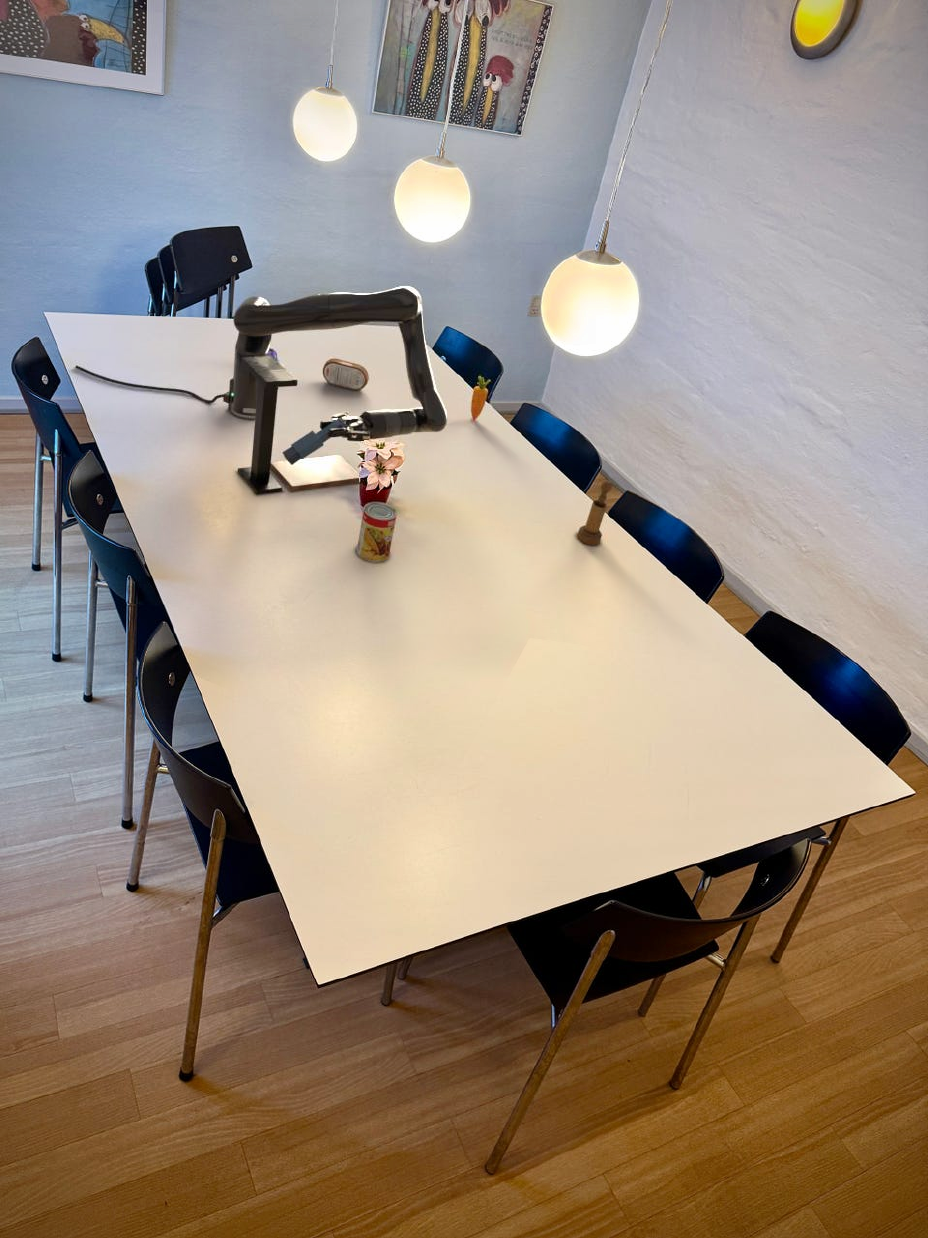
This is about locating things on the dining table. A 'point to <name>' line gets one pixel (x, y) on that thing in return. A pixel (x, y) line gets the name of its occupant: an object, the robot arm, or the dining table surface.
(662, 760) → the dining table surface
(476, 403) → the carrot
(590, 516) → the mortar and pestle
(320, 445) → the stepped blue block
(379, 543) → the canned food
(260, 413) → the stand
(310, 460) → the board
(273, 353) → the pudding
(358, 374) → the tin
